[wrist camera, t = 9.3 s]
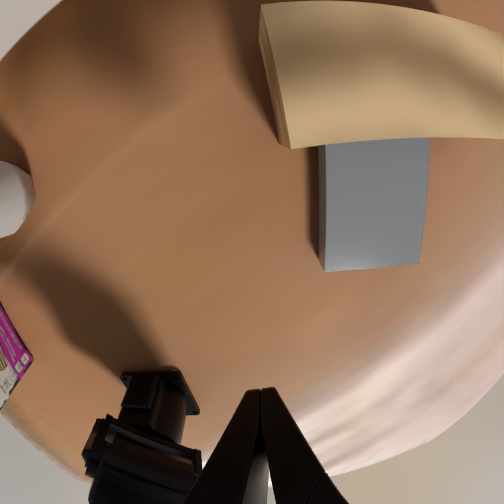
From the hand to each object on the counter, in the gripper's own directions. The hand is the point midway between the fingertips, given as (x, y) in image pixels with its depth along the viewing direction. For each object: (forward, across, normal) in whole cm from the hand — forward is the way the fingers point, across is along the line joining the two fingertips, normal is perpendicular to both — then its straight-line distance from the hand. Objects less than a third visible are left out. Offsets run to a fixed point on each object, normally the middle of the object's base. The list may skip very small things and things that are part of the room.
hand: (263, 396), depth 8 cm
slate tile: (+13, -8, -4) cm, 16 cm away
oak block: (+12, -10, -10) cm, 19 cm away
